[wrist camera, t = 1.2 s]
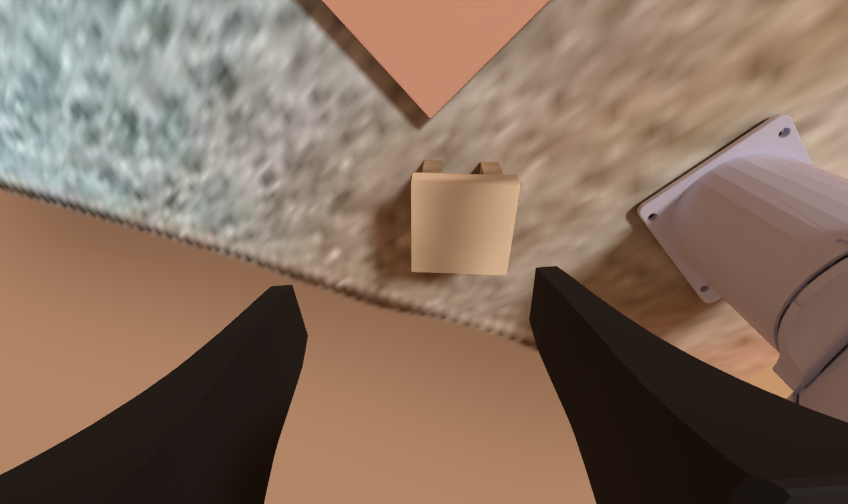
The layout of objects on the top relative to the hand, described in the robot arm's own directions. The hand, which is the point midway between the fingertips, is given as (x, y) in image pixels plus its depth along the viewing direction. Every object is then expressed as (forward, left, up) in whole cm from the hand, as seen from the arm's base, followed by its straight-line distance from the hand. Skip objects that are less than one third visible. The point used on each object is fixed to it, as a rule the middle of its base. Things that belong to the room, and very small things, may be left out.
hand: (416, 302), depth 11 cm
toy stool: (-2, 0, -12) cm, 12 cm away
